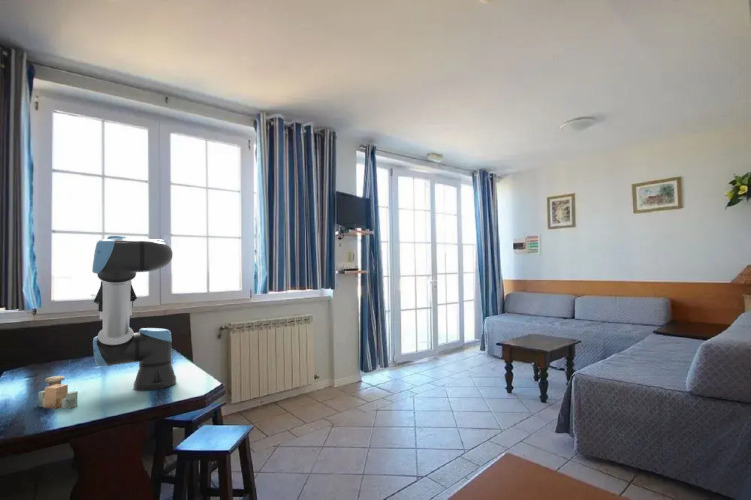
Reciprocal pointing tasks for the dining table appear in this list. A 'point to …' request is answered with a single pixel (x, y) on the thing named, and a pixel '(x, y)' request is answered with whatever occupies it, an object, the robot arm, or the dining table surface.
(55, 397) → the tan tall block
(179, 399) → the dining table surface
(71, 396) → the pair of stepped blocks
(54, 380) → the bobbin
